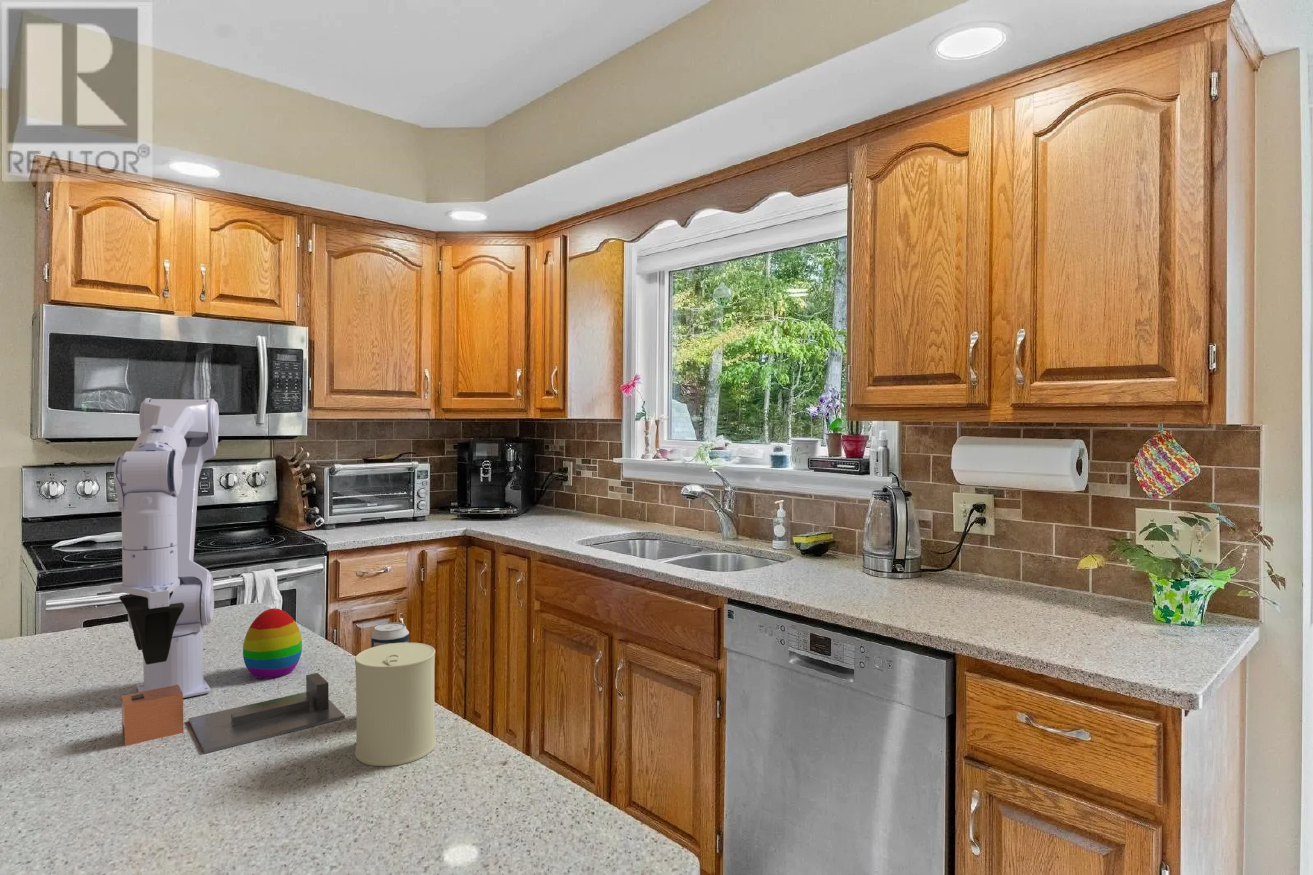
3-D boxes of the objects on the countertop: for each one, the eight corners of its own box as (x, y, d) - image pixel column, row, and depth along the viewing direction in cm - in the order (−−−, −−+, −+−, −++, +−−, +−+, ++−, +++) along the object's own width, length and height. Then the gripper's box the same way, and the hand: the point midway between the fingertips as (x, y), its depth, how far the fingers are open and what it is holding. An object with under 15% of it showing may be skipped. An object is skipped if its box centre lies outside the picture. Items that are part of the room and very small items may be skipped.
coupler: (188, 721, 97) (187, 690, 97) (318, 692, 107) (317, 664, 107) (204, 753, 88) (203, 720, 87) (344, 718, 98) (344, 688, 98)
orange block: (122, 735, 93) (121, 694, 92) (178, 722, 96) (178, 683, 96) (125, 746, 90) (124, 704, 89) (183, 732, 93) (182, 692, 93)
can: (350, 771, 83) (349, 665, 83) (359, 736, 92) (359, 641, 92) (435, 761, 86) (434, 658, 86) (437, 728, 95) (436, 635, 94)
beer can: (363, 718, 98) (362, 628, 97) (391, 706, 102) (391, 619, 102) (389, 726, 95) (388, 633, 95) (417, 712, 100) (416, 624, 99)
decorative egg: (314, 666, 118) (313, 604, 118) (275, 684, 110) (275, 617, 110) (270, 662, 120) (270, 600, 120) (230, 679, 112) (229, 613, 112)
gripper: (105, 543, 95) (106, 648, 96) (116, 558, 84) (118, 676, 85) (170, 537, 100) (171, 638, 100) (189, 551, 89) (190, 663, 89)
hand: (151, 655), depth 93 cm, fingers open, 7 cm apart
